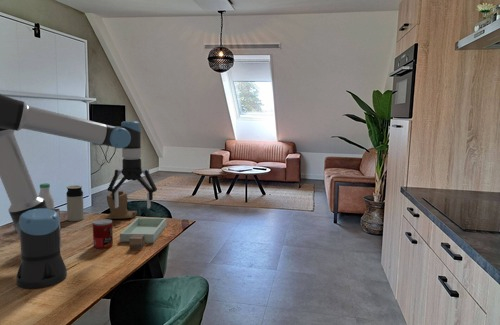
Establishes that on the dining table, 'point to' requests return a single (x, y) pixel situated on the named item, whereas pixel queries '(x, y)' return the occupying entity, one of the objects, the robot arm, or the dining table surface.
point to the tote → (144, 229)
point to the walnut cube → (137, 242)
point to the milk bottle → (46, 195)
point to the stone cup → (122, 209)
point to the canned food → (102, 233)
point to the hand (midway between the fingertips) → (132, 207)
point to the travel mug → (75, 203)
